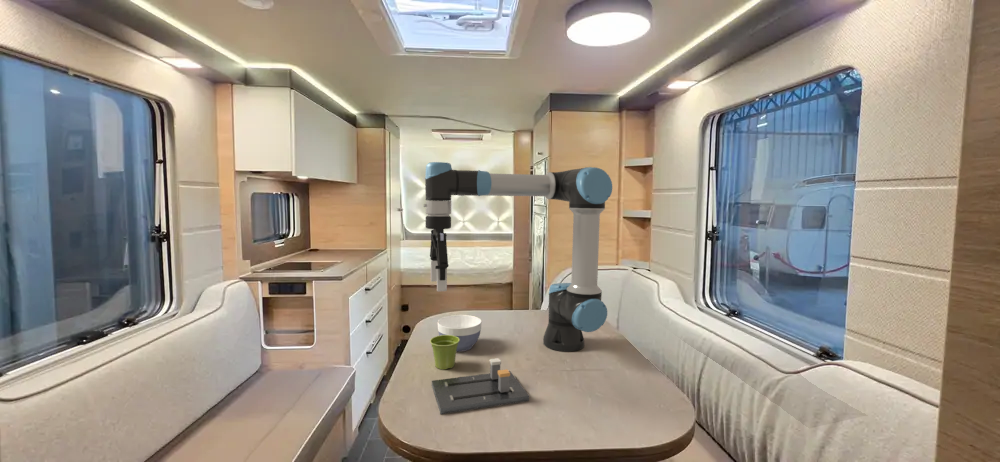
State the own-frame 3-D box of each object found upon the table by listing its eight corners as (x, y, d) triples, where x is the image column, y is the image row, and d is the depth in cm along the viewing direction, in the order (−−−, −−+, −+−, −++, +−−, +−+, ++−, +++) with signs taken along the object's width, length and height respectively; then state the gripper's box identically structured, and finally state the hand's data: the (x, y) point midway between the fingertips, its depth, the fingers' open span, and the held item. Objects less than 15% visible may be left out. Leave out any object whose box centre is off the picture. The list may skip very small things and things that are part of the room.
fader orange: (506, 387, 112) (507, 369, 112) (509, 391, 110) (510, 372, 109) (497, 388, 111) (497, 370, 111) (500, 393, 109) (500, 374, 108)
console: (509, 375, 124) (509, 369, 124) (529, 400, 109) (529, 394, 109) (431, 385, 117) (431, 379, 116) (440, 414, 101) (440, 407, 101)
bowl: (489, 344, 149) (490, 319, 149) (463, 359, 136) (463, 331, 135) (456, 336, 158) (456, 312, 157) (428, 348, 145) (428, 322, 144)
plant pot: (454, 373, 125) (454, 346, 124) (425, 370, 127) (425, 343, 126) (462, 361, 134) (463, 336, 133) (436, 358, 136) (436, 333, 135)
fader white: (498, 375, 120) (498, 358, 119) (500, 378, 117) (501, 361, 117) (489, 376, 119) (489, 359, 118) (491, 380, 117) (491, 362, 116)
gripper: (421, 213, 130) (421, 278, 132) (431, 217, 106) (431, 296, 108) (444, 213, 132) (444, 277, 134) (459, 217, 108) (458, 294, 110)
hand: (438, 285), depth 121 cm, fingers open, 13 cm apart
